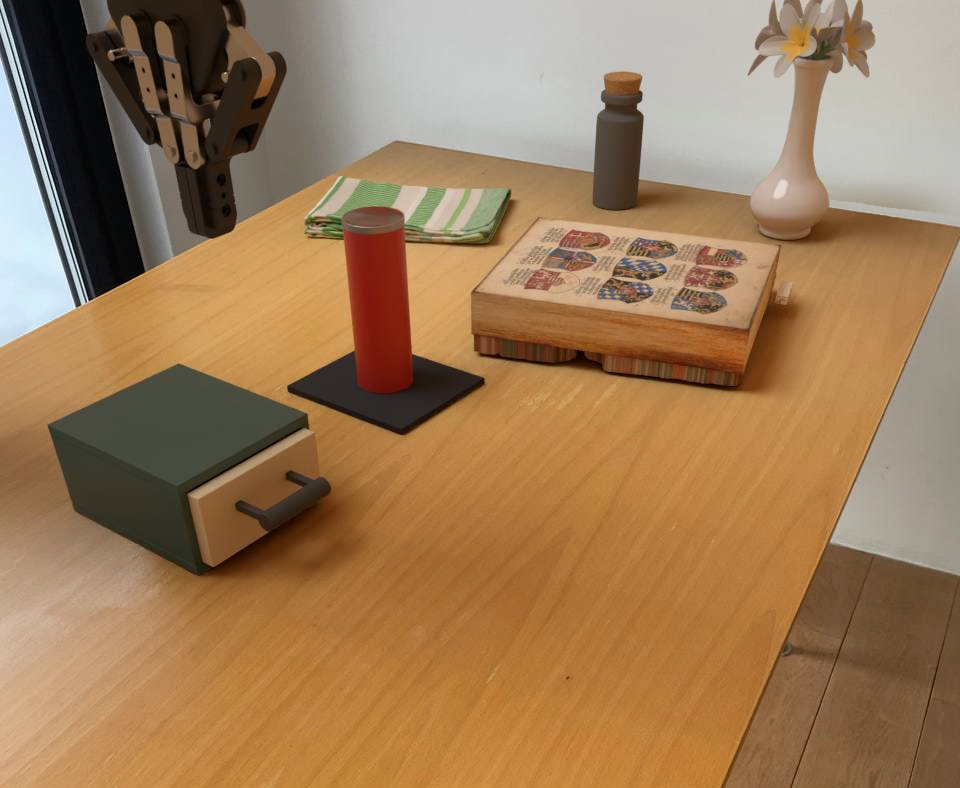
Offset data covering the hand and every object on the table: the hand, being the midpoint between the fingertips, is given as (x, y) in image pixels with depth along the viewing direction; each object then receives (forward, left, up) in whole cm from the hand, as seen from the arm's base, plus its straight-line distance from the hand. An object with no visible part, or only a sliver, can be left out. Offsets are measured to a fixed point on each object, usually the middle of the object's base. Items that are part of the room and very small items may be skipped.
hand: (213, 232), depth 58 cm
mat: (-14, +28, -25) cm, 40 cm away
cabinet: (-13, +4, -25) cm, 28 cm away
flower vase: (-2, +88, -25) cm, 92 cm away
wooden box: (-2, +54, -25) cm, 60 cm away
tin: (-14, +28, -24) cm, 40 cm away
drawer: (-9, +4, -24) cm, 26 cm away
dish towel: (-42, +65, -25) cm, 81 cm away
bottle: (-24, +85, -25) cm, 92 cm away
